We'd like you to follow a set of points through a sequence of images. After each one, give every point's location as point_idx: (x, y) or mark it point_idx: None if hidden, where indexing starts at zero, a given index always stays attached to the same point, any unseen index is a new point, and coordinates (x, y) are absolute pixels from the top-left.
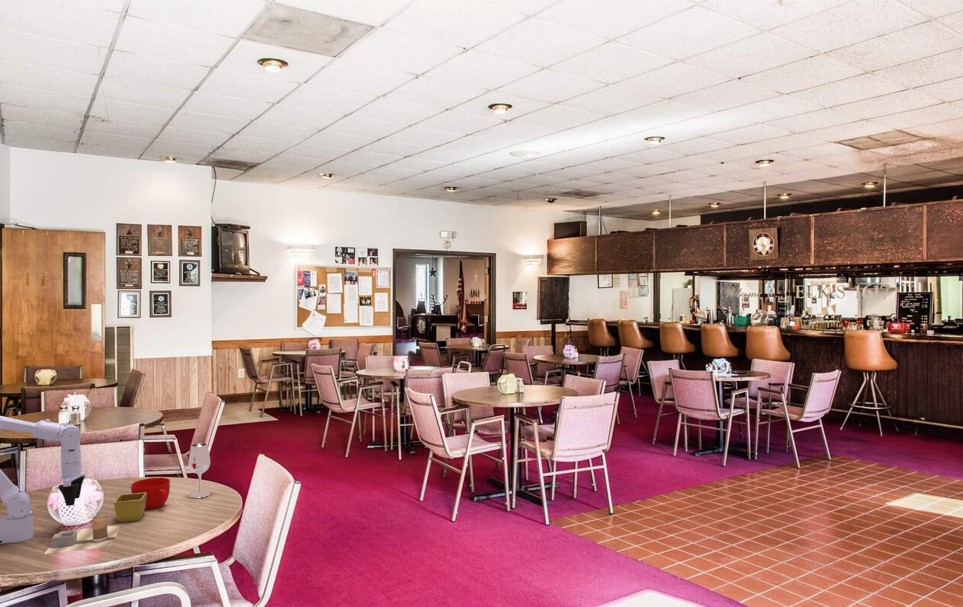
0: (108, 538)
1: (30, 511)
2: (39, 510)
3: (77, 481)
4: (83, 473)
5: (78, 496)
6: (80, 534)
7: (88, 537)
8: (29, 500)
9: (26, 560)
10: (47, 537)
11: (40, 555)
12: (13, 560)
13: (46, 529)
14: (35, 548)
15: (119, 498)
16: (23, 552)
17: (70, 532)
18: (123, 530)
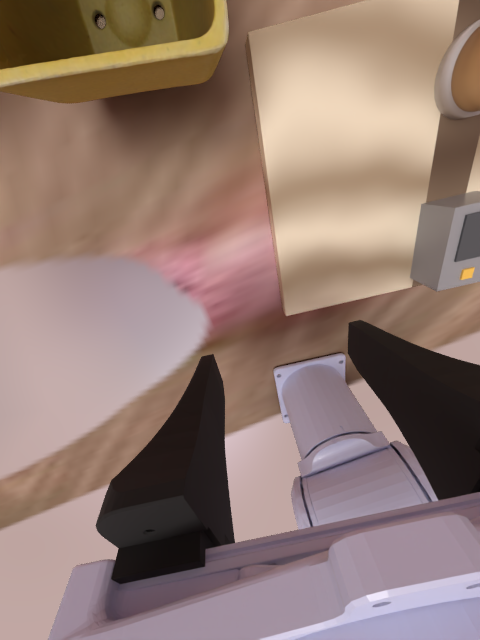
0: (474, 21)
1: (334, 448)
2: (51, 456)
3: (209, 475)
4: (441, 596)
5: (212, 363)
6: (344, 224)
7: (401, 165)
8: (366, 501)
9: (466, 306)
10: (284, 340)
11: None
12: (445, 337)
13: None
14: None
15: (47, 68)
16: None
17: (454, 232)
18: (270, 19)
